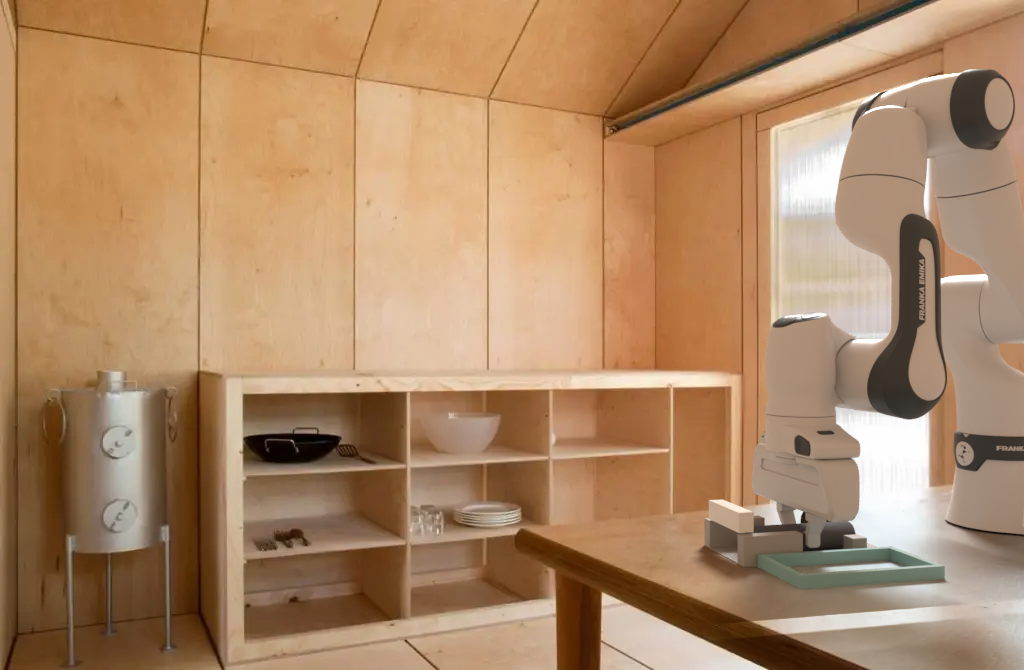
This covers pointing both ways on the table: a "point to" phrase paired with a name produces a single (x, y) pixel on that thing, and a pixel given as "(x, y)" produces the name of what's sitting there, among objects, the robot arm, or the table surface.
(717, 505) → the cream square beam
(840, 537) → the dark grey cylinder
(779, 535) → the cradle
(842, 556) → the tray
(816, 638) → the table surface
